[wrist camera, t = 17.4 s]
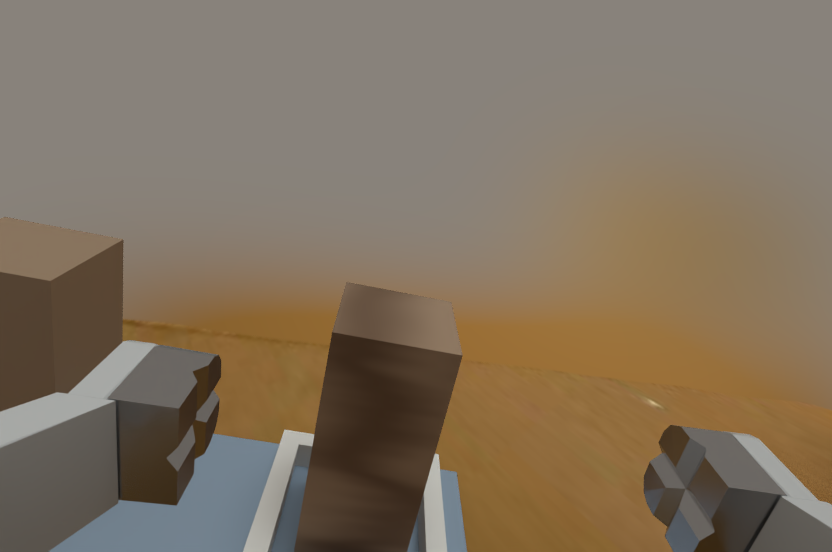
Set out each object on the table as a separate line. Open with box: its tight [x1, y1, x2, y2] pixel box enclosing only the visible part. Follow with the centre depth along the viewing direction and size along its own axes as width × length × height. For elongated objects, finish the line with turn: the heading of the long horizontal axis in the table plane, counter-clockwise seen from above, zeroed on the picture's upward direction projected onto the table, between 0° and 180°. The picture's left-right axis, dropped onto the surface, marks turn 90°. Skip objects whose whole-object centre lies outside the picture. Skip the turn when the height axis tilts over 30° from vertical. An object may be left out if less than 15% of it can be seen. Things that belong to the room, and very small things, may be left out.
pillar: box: [294, 282, 462, 552], centre depth 24 cm, size 5×5×12 cm
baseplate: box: [0, 217, 467, 552], centre depth 23 cm, size 24×10×13 cm, turn 91°
